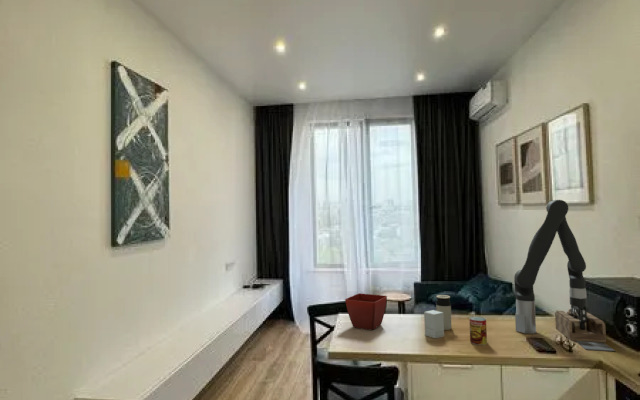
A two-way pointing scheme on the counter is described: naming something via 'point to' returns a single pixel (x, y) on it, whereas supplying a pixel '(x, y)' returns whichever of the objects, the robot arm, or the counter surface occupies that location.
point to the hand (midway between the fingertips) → (579, 327)
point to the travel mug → (444, 309)
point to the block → (578, 325)
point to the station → (592, 333)
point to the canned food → (478, 330)
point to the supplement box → (434, 324)
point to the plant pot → (366, 310)
